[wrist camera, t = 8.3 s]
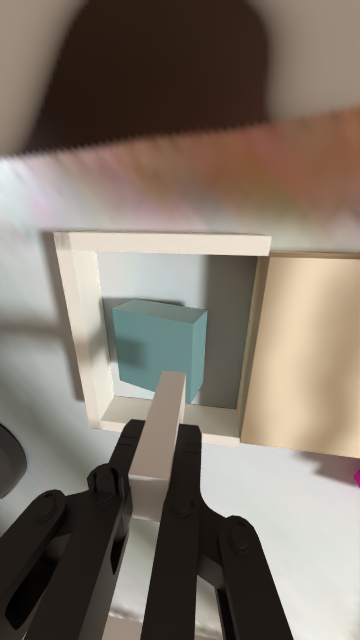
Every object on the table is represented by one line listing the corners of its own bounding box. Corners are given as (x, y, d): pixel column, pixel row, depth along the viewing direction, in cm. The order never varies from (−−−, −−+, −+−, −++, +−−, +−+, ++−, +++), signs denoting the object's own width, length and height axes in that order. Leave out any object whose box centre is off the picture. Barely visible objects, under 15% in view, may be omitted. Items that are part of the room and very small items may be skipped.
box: (105, 403, 26) (90, 427, 23) (80, 231, 19) (52, 232, 16) (235, 418, 24) (238, 447, 21) (260, 234, 17) (271, 235, 14)
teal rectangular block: (138, 363, 23) (119, 380, 21) (134, 298, 21) (111, 308, 18) (203, 382, 21) (190, 404, 18) (207, 310, 18) (193, 323, 15)
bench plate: (236, 409, 24) (240, 442, 20) (258, 250, 18) (270, 256, 14) (360, 423, 22) (389, 462, 19) (433, 255, 16) (497, 263, 12)
